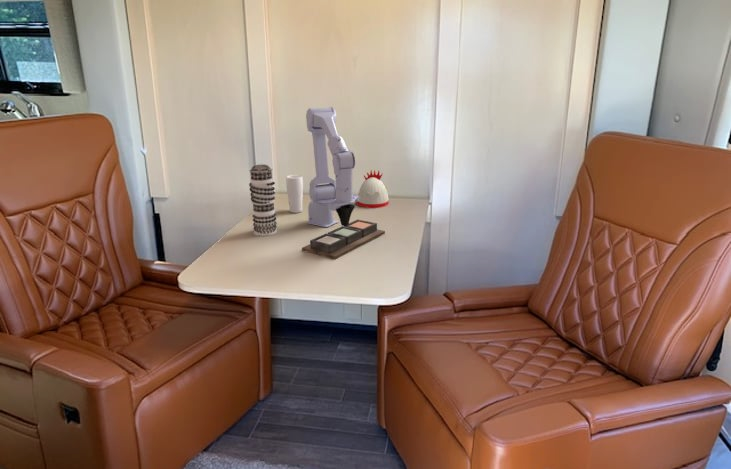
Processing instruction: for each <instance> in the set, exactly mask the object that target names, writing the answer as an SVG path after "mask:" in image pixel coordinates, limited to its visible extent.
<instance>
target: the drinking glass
mask: <svg viewBox="0 0 731 469" xmlns="http://www.w3.org/2000/svg"><path fill="white" fill-rule="evenodd" d="M285 178H286V180H285V181H286V191H287V192H286V193H287V197H288V198H287V199H288V205H289V212H290V213H292V214H299V213H302V212H303V199H304V198H303V196H304V195H303V194H304V179H303V175H301V174H289V175H287V176H286V177H285Z"/></svg>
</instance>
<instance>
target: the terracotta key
mask: <svg viewBox="0 0 731 469" xmlns="http://www.w3.org/2000/svg"><path fill="white" fill-rule="evenodd" d="M370 225H372V224H368V223H363V222H356V223H354V224H352V225H350V226H353V227H358V228H362V229H363V228H366V227H368V226H370Z"/></svg>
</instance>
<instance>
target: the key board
mask: <svg viewBox="0 0 731 469" xmlns="http://www.w3.org/2000/svg"><path fill="white" fill-rule="evenodd" d="M356 222H363V223H368V224H372V225H370V226H368V227H366V228H363V229H362V228H358V227H353V226H350V225H352V224H354V223H356ZM343 228H344V229H348V230H353V231H357V232H355V233H353V234H351V235H349V236H344V235H340V234H335V233H334V232H336V231H339V230H341V229H343ZM385 233H386V231H385V230H381V229H378V223H377V222H372V221H367V220H362V219H355V220H353V221H351V222H349V224H348V226H342V225H341V226H340V227H337V228H335V229H333V230H331V231H328V232H327V233H324V234H321V235H320V236H316V237H314V238H313V239H310V241H309V244H307V245H305V246H303V247H301V251H303V252H306V253H309V254H313V255H318V256H321V257H324V258H329V259H332V260H336V259H338V258H341V257H342V256H344V255H346V254H348V253H350V252H352V251H354V250H356V249H358V248H360V247H362V246H363V245H366V244H367V243H369V242H372V241H373V240H375V239H377V238H379V237H381V236H383V235H385ZM325 236H330V237H334V238H338V239H340V240H338V241H336V242H334V243H332V244H326V243H322V242H318V241H316V240H318V239H321V238H323V237H325Z"/></svg>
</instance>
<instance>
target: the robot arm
mask: <svg viewBox="0 0 731 469" xmlns="http://www.w3.org/2000/svg"><path fill="white" fill-rule="evenodd" d="M305 114H306V116H305V119H306V128H307V132H310V133H311V136H312V145H313V154H314V155H313V156H314V167H315V177H313V179H311V180H310V182H309V189H308V190H309V191H308V192H309V194H308V195H309V198H310V202H308V207H307V210H308V212H307V213H308V221H307V224H309V225H314V226H319V227H322V228H328V227H331V226H333V225H335V224H337V223H339V221H340V224H341V227H342V226H348V224H349V223H350V219H351V216H352V213H353V211H354V209H355V205H354V204H356V202H357V201H359V196H358V194H353V193H354V192H353V191H354V190H353V184H354V183H353V169H354V168H355V166H356V157H355V154H354V152H353V151H351V150H350V149H348V147H347V144H346V142H345V140H344V138H343V137H342V136H340V135H339V133H338V130H337V127H336V122H337V111H336V110H335V108H334V107H333V106H330V107H321V108H320V107H319V108H318V107H317V108H311V107H308V109H307V110H306V113H305ZM326 137H327V139H326ZM327 140H328V141H327ZM327 147H328V148H327ZM327 149H329V151H330V154H331V157H332V167H333V174H334V175H335V179H334V178H333V177H331V176H330V175H329V174H330V173H329V163H328V162H329V161H328V150H327ZM334 211H335V212H336V213H337V216H338V219H339V220H336V219H334V218H335V216H334Z"/></svg>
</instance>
